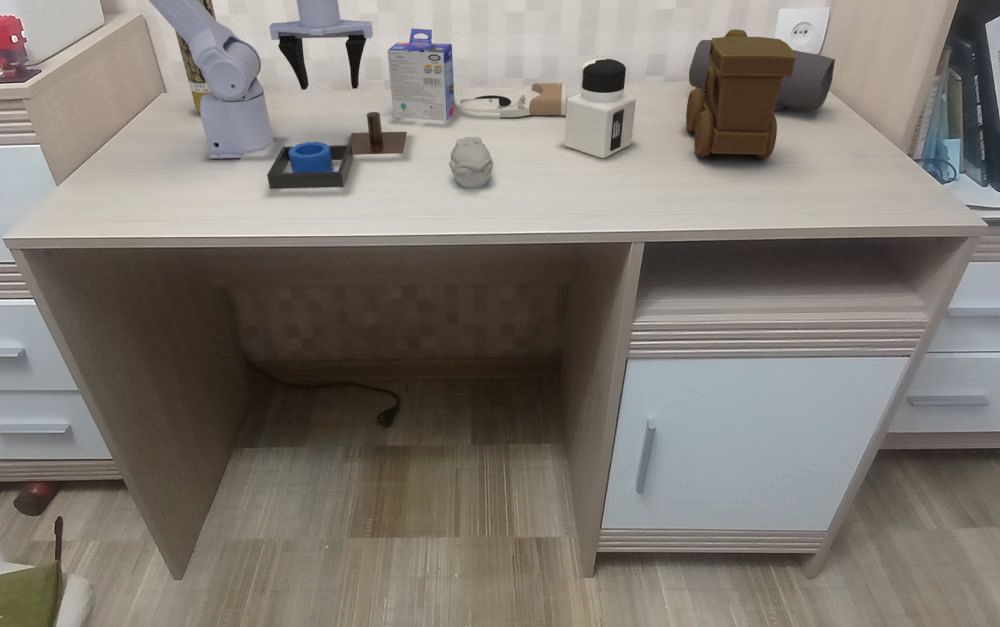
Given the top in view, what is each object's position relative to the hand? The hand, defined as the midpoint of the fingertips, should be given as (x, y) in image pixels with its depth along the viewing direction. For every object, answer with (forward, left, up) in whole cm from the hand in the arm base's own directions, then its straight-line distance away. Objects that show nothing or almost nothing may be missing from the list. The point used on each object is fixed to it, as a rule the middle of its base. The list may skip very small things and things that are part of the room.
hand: (330, 87), depth 107 cm
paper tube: (-25, +18, -10) cm, 32 cm away
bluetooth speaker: (+72, +15, -10) cm, 74 cm away
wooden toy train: (+61, -4, -10) cm, 62 cm away
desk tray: (-2, -13, -9) cm, 16 cm away
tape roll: (-2, -13, -9) cm, 15 cm away
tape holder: (+6, -2, -9) cm, 11 cm away
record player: (+28, +16, -10) cm, 34 cm away
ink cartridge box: (+13, +11, -10) cm, 20 cm away
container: (+41, -3, -10) cm, 42 cm away
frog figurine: (+21, -17, -10) cm, 29 cm away
